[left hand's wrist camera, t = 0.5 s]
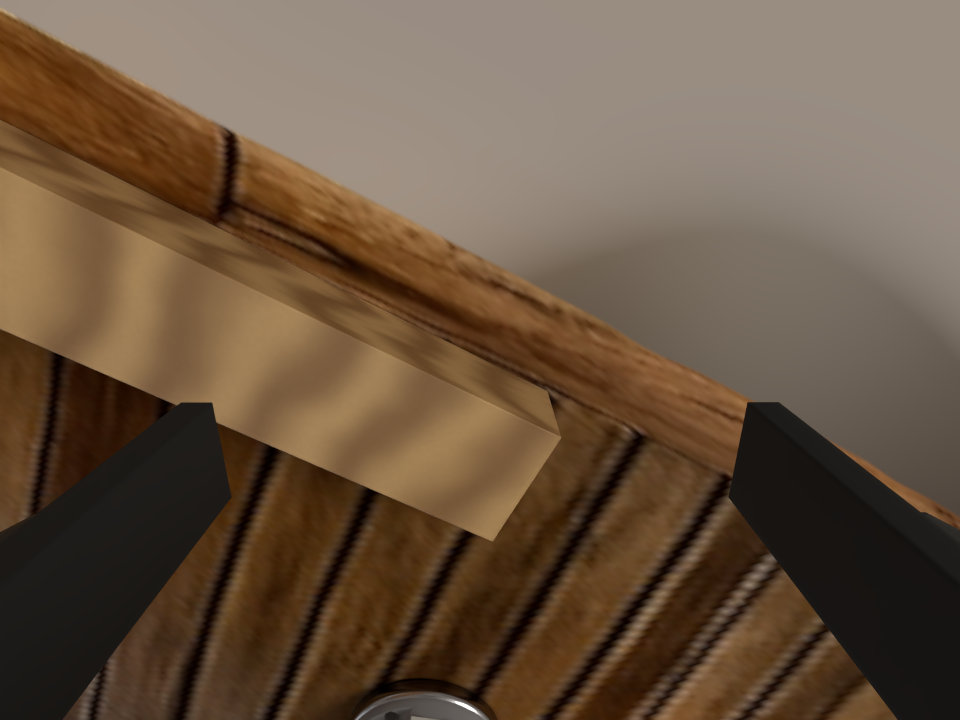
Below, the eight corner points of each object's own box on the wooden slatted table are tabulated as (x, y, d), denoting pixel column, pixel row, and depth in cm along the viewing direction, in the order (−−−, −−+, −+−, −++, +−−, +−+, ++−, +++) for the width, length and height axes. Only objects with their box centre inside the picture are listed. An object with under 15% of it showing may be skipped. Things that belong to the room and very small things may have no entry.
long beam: (547, 391, 39) (561, 437, 32) (490, 481, 41) (492, 541, 35) (-611, -185, 27) (-971, -300, 20) (-580, -4, 30) (-887, -54, 23)
